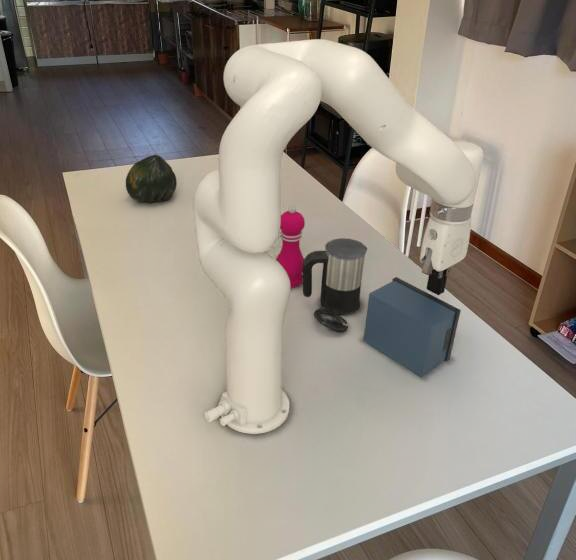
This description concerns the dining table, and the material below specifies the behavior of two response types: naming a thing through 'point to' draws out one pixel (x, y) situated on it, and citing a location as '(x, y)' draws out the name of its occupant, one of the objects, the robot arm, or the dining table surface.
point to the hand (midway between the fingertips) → (435, 291)
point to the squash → (151, 180)
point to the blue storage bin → (410, 326)
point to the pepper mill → (291, 245)
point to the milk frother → (336, 280)
